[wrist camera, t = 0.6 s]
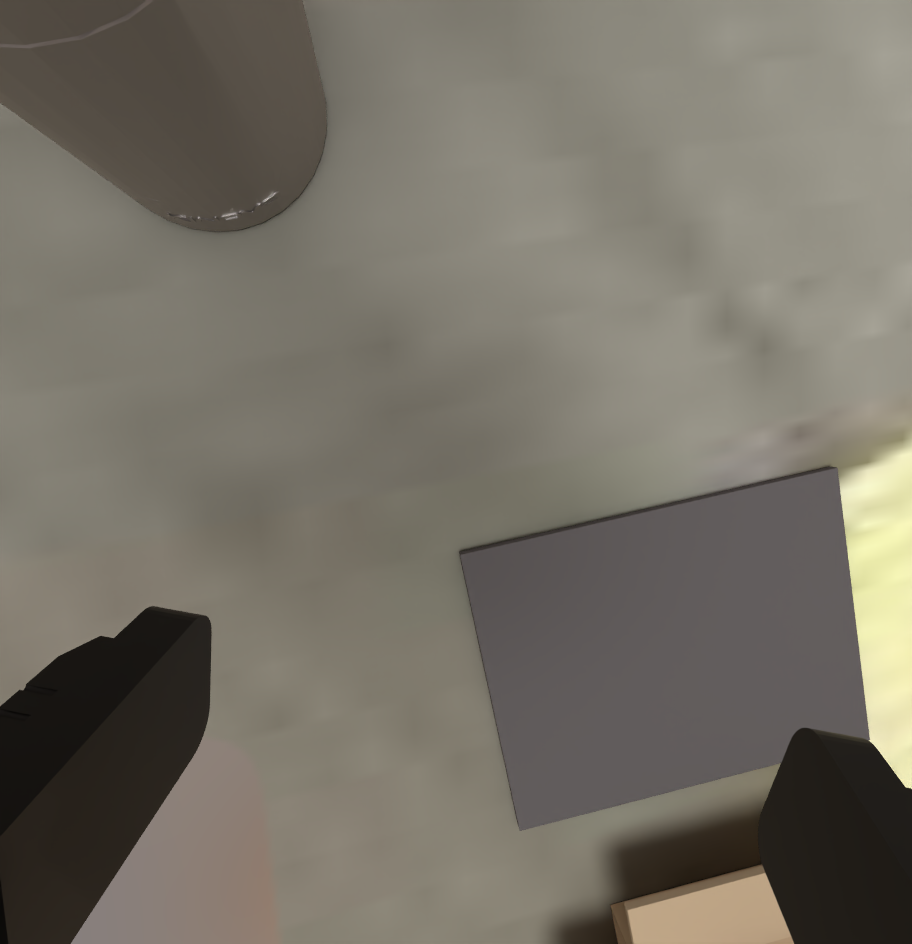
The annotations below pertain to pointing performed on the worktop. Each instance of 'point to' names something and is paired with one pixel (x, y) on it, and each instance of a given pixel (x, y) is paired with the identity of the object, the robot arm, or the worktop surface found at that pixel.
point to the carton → (705, 913)
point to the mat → (667, 644)
